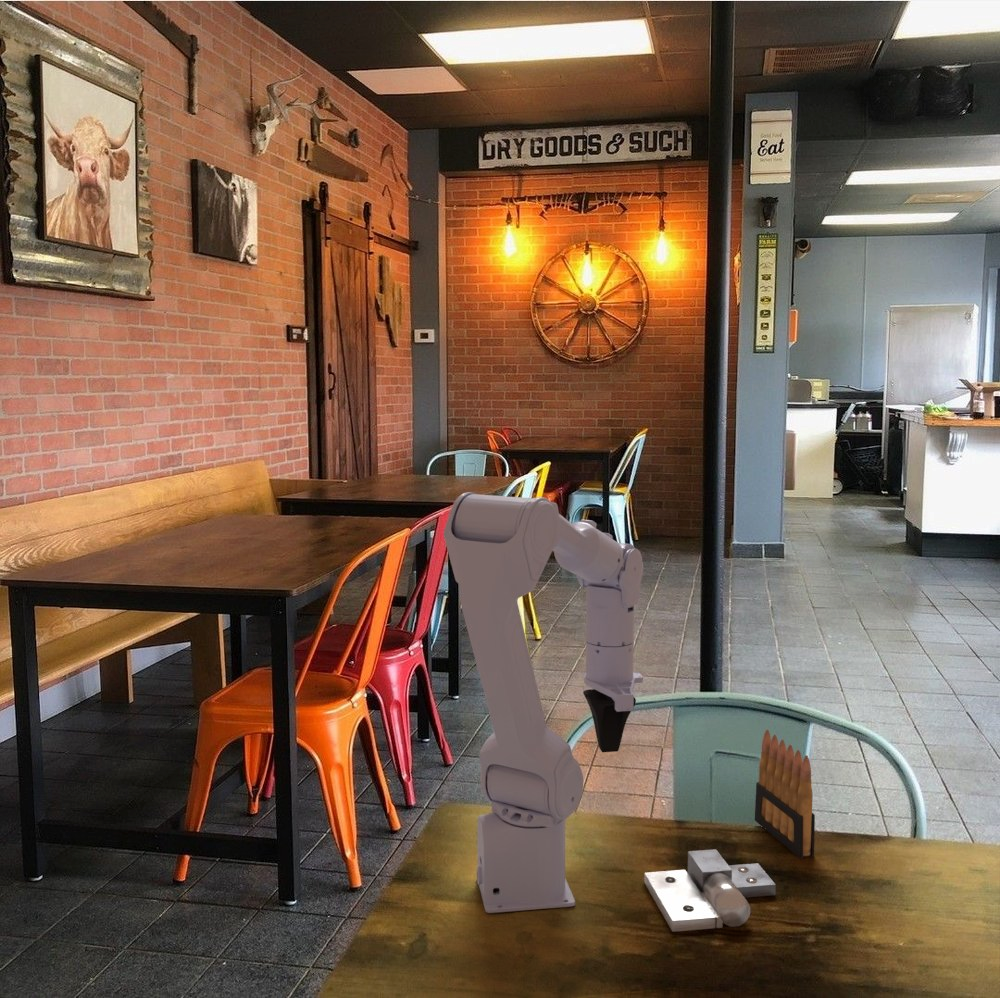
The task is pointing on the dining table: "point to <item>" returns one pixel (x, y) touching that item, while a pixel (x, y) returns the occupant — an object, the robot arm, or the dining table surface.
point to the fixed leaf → (697, 900)
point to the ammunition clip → (785, 796)
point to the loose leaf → (729, 873)
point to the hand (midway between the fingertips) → (608, 749)
